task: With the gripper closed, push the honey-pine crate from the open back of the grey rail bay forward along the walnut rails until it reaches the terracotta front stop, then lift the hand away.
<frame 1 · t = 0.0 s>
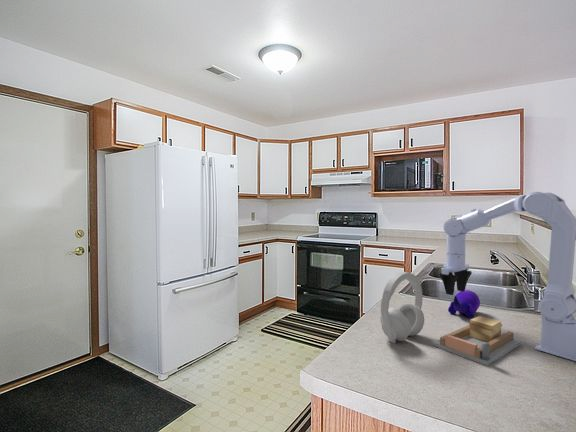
hand: (455, 292, 110), 10 cm above the counter, tool pointing down, fingers open, 7 cm apart
headphones: (402, 338, 96), on the counter
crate: (485, 329, 94), point 4 cm above the counter, slide at 0.0 cm
bay: (477, 345, 91), on the counter
toy: (463, 315, 117), on the counter
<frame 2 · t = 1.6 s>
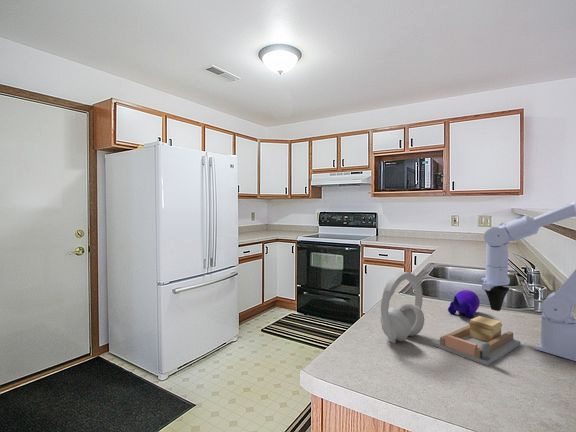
hand: (495, 309, 98), 8 cm above the counter, tool pointing down, fingers closed
nothing on the counter moved.
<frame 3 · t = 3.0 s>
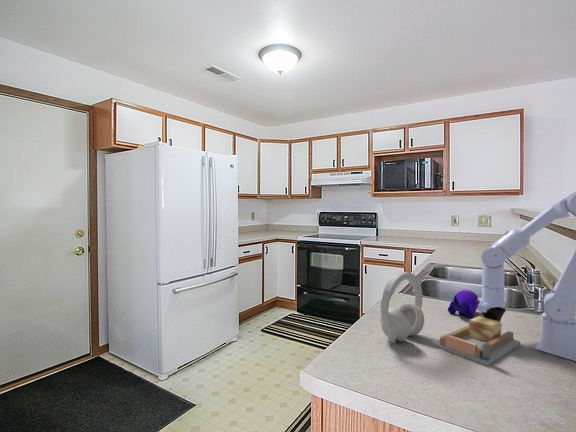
hand: (492, 331, 96), 2 cm above the counter, tool pointing down, fingers closed
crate: (485, 329, 93), point 4 cm above the counter, slide at 0.2 cm, touching gripper
everything else where it was.
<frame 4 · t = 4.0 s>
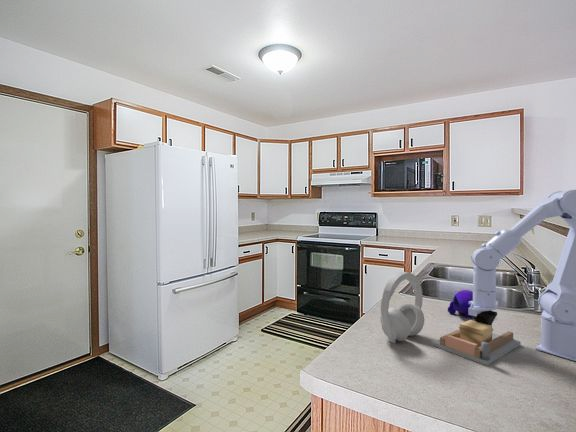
hand: (483, 335, 93), 2 cm above the counter, tool pointing down, fingers closed
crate: (475, 333, 90), point 4 cm above the counter, slide at 5.9 cm, touching gripper
everything else where it was.
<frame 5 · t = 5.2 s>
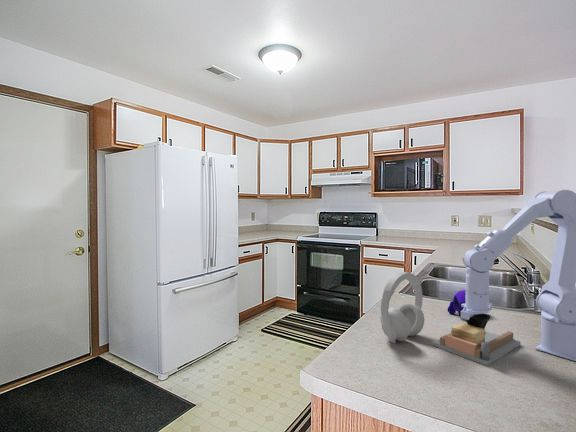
hand: (476, 339, 90), 2 cm above the counter, tool pointing down, fingers closed
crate: (468, 337, 88), point 4 cm above the counter, slide at 10.3 cm, touching gripper
everything else where it was.
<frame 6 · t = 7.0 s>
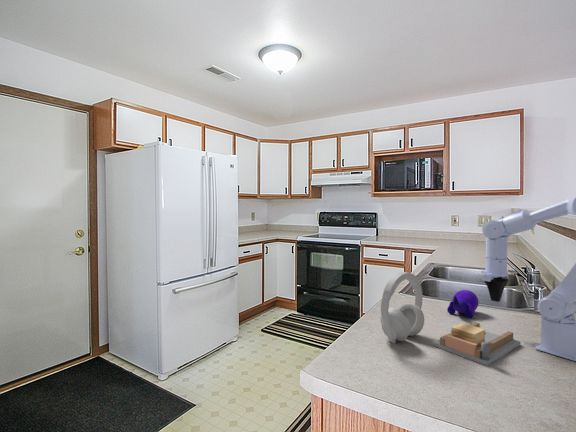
hand: (495, 300, 100), 10 cm above the counter, tool pointing down, fingers closed
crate: (468, 337, 88), point 4 cm above the counter, slide at 10.4 cm
everything else where it was.
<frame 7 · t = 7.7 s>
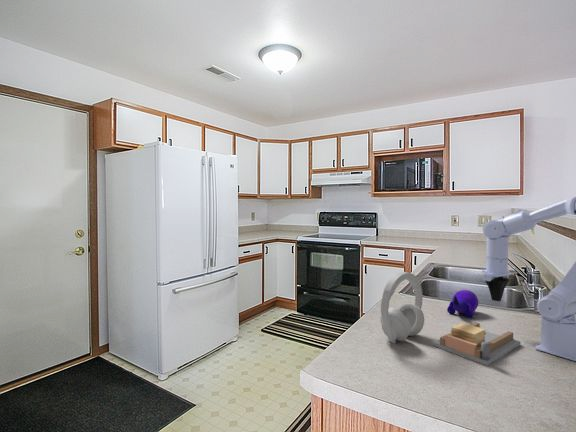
hand: (496, 300, 101), 10 cm above the counter, tool pointing down, fingers closed
nothing on the counter moved.
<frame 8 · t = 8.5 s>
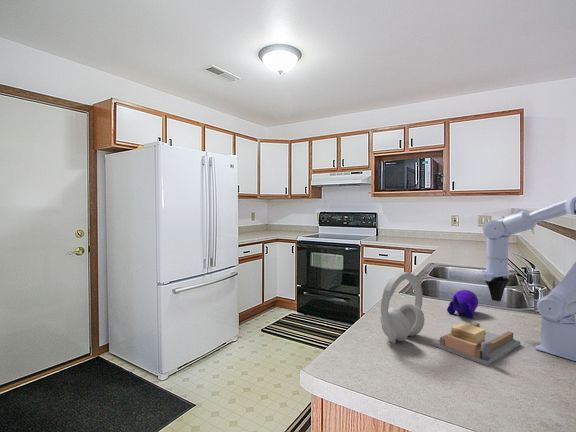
hand: (496, 300, 101), 10 cm above the counter, tool pointing down, fingers closed
nothing on the counter moved.
at the end: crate slide at 10.4 cm; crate touching nothing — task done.
